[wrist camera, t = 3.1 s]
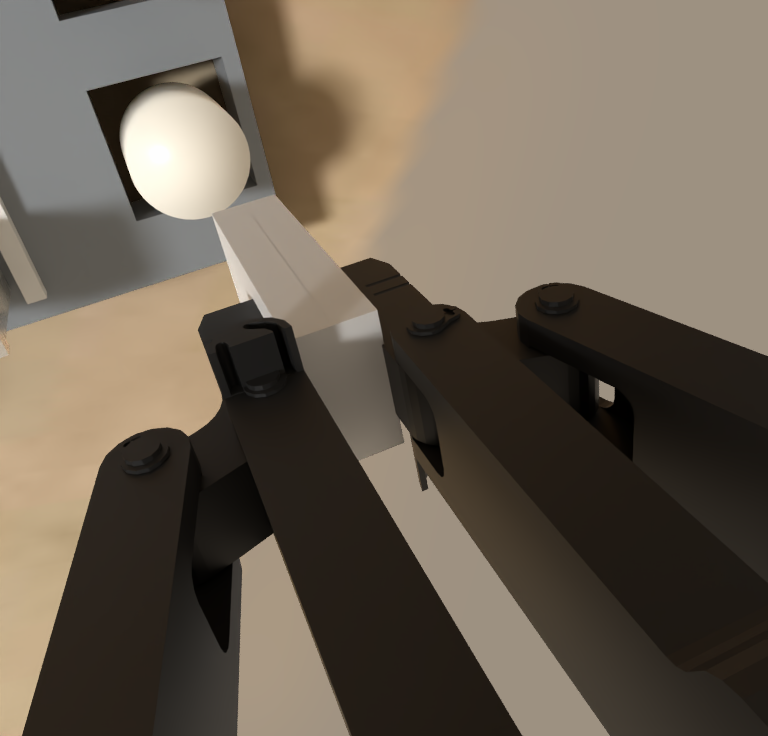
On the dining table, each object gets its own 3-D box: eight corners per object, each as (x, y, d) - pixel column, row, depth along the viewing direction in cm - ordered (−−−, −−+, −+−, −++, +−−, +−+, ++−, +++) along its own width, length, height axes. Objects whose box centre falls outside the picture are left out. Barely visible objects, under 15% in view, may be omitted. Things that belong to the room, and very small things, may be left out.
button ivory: (142, 206, 27) (152, 234, 25) (101, 98, 25) (108, 116, 23) (243, 176, 28) (263, 200, 26) (212, 69, 26) (231, 84, 23)
